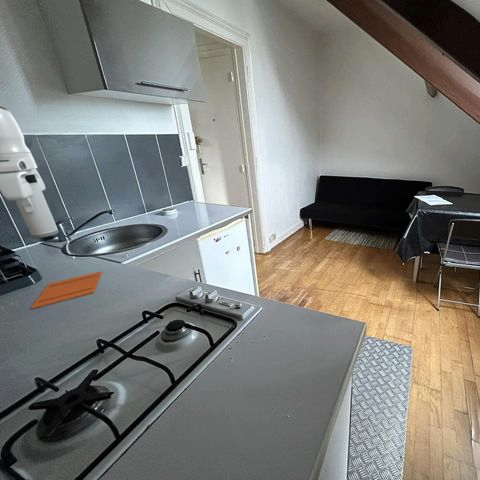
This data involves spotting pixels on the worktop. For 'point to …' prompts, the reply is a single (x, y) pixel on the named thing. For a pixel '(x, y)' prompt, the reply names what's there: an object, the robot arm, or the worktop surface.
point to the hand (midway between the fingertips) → (36, 209)
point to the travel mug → (38, 212)
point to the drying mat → (68, 289)
